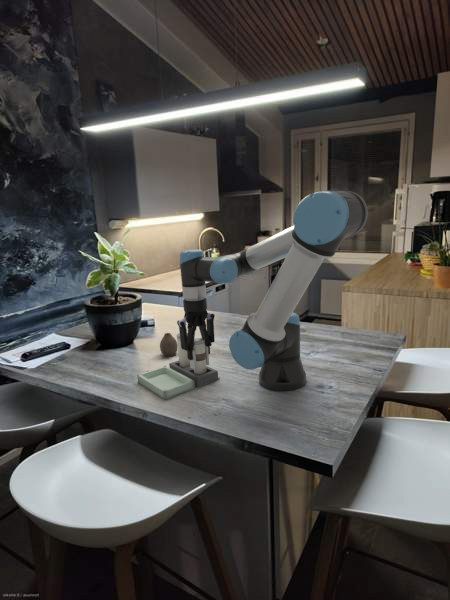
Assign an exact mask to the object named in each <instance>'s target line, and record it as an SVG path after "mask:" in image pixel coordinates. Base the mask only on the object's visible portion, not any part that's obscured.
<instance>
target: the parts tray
mask: <svg viewBox="0 0 450 600" xmlns="http://www.w3.org/2000/svg"><path fill="white" fill-rule="evenodd" d="M137 383H139V384H140V385H142V386H143V387H145V388H146V389H148V390H150V391H151V392H153V393H154V394H156V395H157V396H159V397H161V398H162V399H164V400H165V399H166V400H168V399H171V398H173V397H176V396H179V395H181V394H183V393H186V392H190V391H192V390H194V389H196V388H195V387H196V385H195V384H194V380H192V379H190V378H188V377H186V376H184V375H182V374H180V373H178V372H177V371H175V370H173V369H171V368H170V367H169V366H167V365H164V366H161V367H157V368H155V369H151V370H148V371H145V372H141V373H139V374H137Z"/></svg>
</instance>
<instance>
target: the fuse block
mask: <svg viewBox="0 0 450 600" xmlns="http://www.w3.org/2000/svg"><path fill="white" fill-rule="evenodd" d="M168 365H169V366H168V367H169V368H171V369H173V370H175V371H177V372H178V373H180V374H182V375H184V376H186V377H188V378H190V379H192V380H194V384H195V387H202V386H205V385H207V384H210V383H212V382H215V381H218V380H220V378H221V377H220V376H219V371H218V370H217V369H214V368H212V367H210V366H209V365H206V366H207V373H205V374H202V375H199V376H197V375H195V374H194V369H192V368H190V366H188V367H185V368H181V367H179V360H176V361H173V362H170V363H168Z"/></svg>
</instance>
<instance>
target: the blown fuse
mask: <svg viewBox="0 0 450 600" xmlns="http://www.w3.org/2000/svg"><path fill="white" fill-rule="evenodd" d="M193 350H195V353H196V366H197V369H196V370H194V374H195V375H197V376H199V375H202V374H205V373H207V366H208V365H206V351H205V339H203V338H202V337H196V338H195V337H194V346H193Z"/></svg>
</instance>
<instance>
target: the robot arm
mask: <svg viewBox="0 0 450 600" xmlns="http://www.w3.org/2000/svg"><path fill="white" fill-rule="evenodd" d="M368 215H369V211H368V206H367V203H366V201H365V200H364V199H363V197H361V196H360V194H358V193H357V192H354V191H350V190H319V191H316V192H313V193H310V194H308V195H306V196H305V197H304V198H303V199H301V200H300V201H299V203H298V205H296V207H295V209H294V212H293V215H292V223H293V225H291V226H289V227H287V228H285V229H284V230H281V231H279V232H278V233H276V234H273V235H271V236H269V237H267V238H265V239H263V240H261V241H259V242H258V243H254V244H252V245H251V246H249V247H247V248H245V249H243V250H241V251H239V252H235V253H231V254H225V255H221V256H215V257H214V256H213V257H212V256H209V257H207V256H205V255H204V251H203V250H202V249H185V250H182V251H180V253H179V269H180V278H181V288H182V290H181V291H182V298H183V301H182V303H183V310H184V316H183V318H182V319H181V320H180V319H179V320H178V319H177V321H176V324H177V326H178V329H179V333H180V341H181V348H182V349H183V350H186V351H187V357H188V359H189V360H190V368H192V369H194V370H196V369H197V366H196V353H195V350H193V346H194V339H195V336H196V331H197V327H198V329H199V332H200V335H201V338H203V339H205V351H206V366H210V357H209V356H210V354H211V346H212V345H213V343H215V326H214V325H215V324H214V323H215V322H214V320H215V314H214V313H212V312H208V311H207V310H208V304H207V303H208V300H207V298H206V297H207V288H206V282H208V283H217V284H222V285H223V284H231V283H233V282H234V280H235V279H236V278H239V277H242V276H247V275H248V276H249V275H251V274H254V273H255V272H257V271H258V270H260V269H262V268H264V267H267V266H270V265H271V264H273V263H276V262H278V261H281V260H282V259H284V260H283V262H282V264H281V266H280V268H278V269H279V270H278V271H277V273H276V275H275V276H274V279H273V280H272V283H271V285H270V287H269V288H268V290H267V292H266V294H265V296H264V298H263V299H262V302H261V303H260V305H259V307H258V309H257V311H256V312H252V313H250V314H249V315H248V316H247V318H246V320H245V322H244V324H243V326H242V327H241V329H240V330H236V331H235V332H234V333H233V334H232V335H231V336H230V338H229V340H228V341H229V342H228V347H229V351H230V354H231V357H232V358H233V360H234V362H236V364H238V366H240V367H241V368H243V369H246V370H250V371H251V370H256V369H258V368H260V371H259V372H258V382H259V385H261V386H262V387H264V388H266V389H268V390H272V391H279V392H281V391H283V392H284V391H294V390H298V389H300V388H302V387H304V386H305V385H306V384H307V375H306V371H305V370H304V369H305V368H304V366H303V362H302V360H301V323H300V316H299V315H298V314H297V313H295V312H294V311H295V309H296V308H297V306H298V304H299V303H300V302H301V299H302V297H303V296H304V294H305V292H306V291H307V289H308V287H309V285H310V283H312V281H313V279H314V277H315V275H316V274H317V272H318V271H319V269H320V267H321V265H322V264H323V262H324V260H325V259H330V258H332V257H334V256H335V254H336V253H337V251H338V249H339V247H340V245H341V244H342V243H343V240H345V239H347V238H350V237H353V236H355V235H356V234H357V233H359V232H360V231H361V230H362V229H363V228H364V227H365V225H366V222H367V220H368ZM187 333H188V334H187Z"/></svg>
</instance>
